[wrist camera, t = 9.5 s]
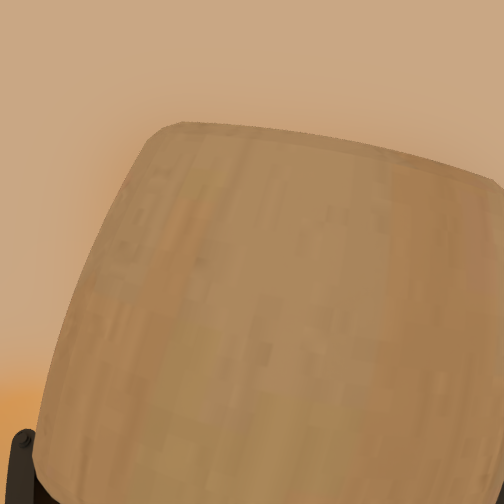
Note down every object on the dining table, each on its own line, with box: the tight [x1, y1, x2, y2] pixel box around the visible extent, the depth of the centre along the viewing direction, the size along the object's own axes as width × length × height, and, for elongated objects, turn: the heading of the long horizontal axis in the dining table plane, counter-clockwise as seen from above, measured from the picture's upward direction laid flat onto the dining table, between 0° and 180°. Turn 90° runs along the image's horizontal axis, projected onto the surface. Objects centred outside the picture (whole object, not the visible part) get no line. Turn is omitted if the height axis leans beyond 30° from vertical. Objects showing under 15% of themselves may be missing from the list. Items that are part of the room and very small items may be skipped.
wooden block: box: [32, 122, 504, 504], centre depth 14 cm, size 10×10×20 cm
